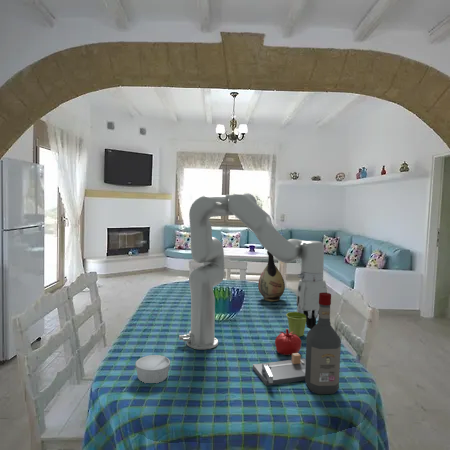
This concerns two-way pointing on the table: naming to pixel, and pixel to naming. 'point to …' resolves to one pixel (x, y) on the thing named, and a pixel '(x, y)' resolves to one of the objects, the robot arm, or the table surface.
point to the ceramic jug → (271, 281)
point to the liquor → (323, 352)
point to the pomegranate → (287, 343)
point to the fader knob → (296, 358)
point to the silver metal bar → (267, 372)
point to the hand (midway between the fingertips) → (310, 327)
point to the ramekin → (152, 368)
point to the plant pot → (296, 323)
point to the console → (282, 371)
